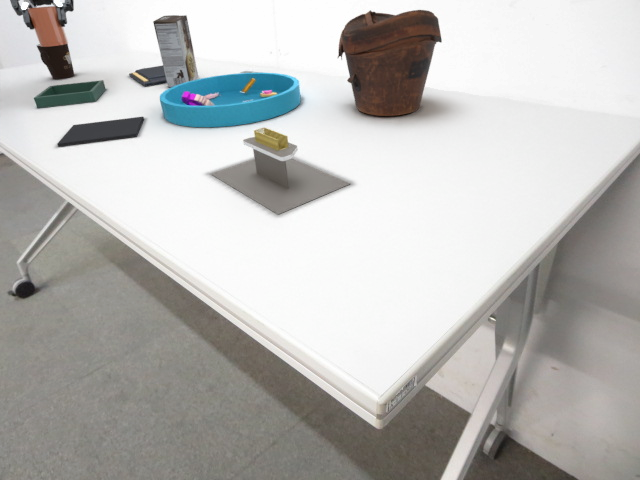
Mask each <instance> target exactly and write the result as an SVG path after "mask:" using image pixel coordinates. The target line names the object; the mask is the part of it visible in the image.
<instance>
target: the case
mask: <svg viewBox="0 0 640 480" xmlns="http://www.w3.org/2000/svg"><path fill="white" fill-rule="evenodd" d="M442 41H443V40H442V35H441V29H440V23H439V18H438V17H437V16H436V15H435V13H434V12H432V11H430V10H428V9H427V10H425V9H416V10H407V11H404V12H400V13H398V14H390V13H383V12H376V11H372V10H369V11H367V12H366V13H362V14H359V15H357V16H355V17H353V18H351V19H350V20H349V21H348V22H347V23H346V24H345V25H344V28H343V29H342V30H341V33H340V37H339V40H338V55H337V59H339V57H340V58H341V60H343V55H344V56H345V61H346V66H347V70H348V74H349V77H348V78H347V83H349V84H351V89H352V94H353V98H354V103H355V107H356V109H357V110H358V111H359V112H361V113H364V114H367V115H371V116H376V117H394V116H403V115H408V114H411V113H414V112H416V111H417V110H419V108H420V106H421V102H422V98H423V96H424V95H423V94H424V90H425V87H426V84H427V79H428V75H429V72H430V67H431V64H432V60H433V56H434V51H435V47H436V45H437V43H442Z"/></svg>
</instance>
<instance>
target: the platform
mask: <svg viewBox="0 0 640 480" xmlns="http://www.w3.org/2000/svg"><path fill="white" fill-rule="evenodd" d="M253 132H254V133H253V135H254V136H252V137H248V138H244V139H243V145H244V146H246V147H248V148H251V149H252V151H253V159H250V160H248V161H244V162H242V163H239V164H236V165H232V166H230V167H229V166H228V167H226V168H224V169H220V170H217V171H215V172H211V173H210V175H211V176H213V177H215V178H217V179H218V180H220V181H221V182H223V183H225V184H227V185H228V186H230V187H231V188H233V189H235V190H236V191H238V192H240V193H242V194H243V195H244V196H247V197H248V198H250V199H252V200H253V201H255V202H256V203H258V204H260V205H261V206H263V207H265V208H267V209H269V211H272V212H273V213H275V214H276V215H280V214H283V213H285V212H288V211H290V210H292V209H295V208H297V207H299V206H301V205H304V204H306V203H309V202H311V201H313V200H316V199H318V198H322V197H323V196H325V195H327V194H330V193H333V192H335V191H337V190H340V189H342V188H344V187H347V186H349V185H351V183H350V182H348V181H345V180H343V179H341V178H338V177H336V176H335V175H332V174H329V173H328V172H325V171H322V170H320V169H318V168H315V167H313V166H311V165H309V164H305V163H304V162H301V161H299V160H297V159H294V158H293V157H294V156H295V155H296V153H297V152H298V145H296V144H293V143H291V142H289V138H288V135H287V134H283V133H281V132H278V131H276V130H274V129H273V130H272V129H271V128H267V127H265V126H264V127H260V128H256V129H254V130H253Z"/></svg>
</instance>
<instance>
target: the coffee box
mask: <svg viewBox="0 0 640 480" xmlns="http://www.w3.org/2000/svg"><path fill="white" fill-rule="evenodd" d="M152 23H153V26H154V31H155V32H154V33H155V36H156V40H157V45H158V49H159V54H160V57H161V62H162V65H163V67H164V72H165V76H166V80H167V83H166V85H167V88H171V87H173V86H176V85H179V84H182V83H185V82H189V81H193V80H197V79H199V73H198V67H197V63H196V57H195V51H194V45H193V42H192V36H191V31H190V26H189V21H188V16H187V14H185V15H177V14H176V15H173V14H172V15H163V16H160V17H159V18H156V19H155V20H153V21H152Z"/></svg>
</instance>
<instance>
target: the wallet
mask: <svg viewBox="0 0 640 480" xmlns="http://www.w3.org/2000/svg"><path fill="white" fill-rule="evenodd" d="M128 75H129V77H130V78H131V79H133V80H135V81H136V82H138V84H141V85H142V86H143V87H152V86H158V85H163V84H167V80H166V76H165V72H164V67H163V64H162V65H156V66H151V67H144V68H139V69H135V71H134V72H130V73H129V74H128Z"/></svg>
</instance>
